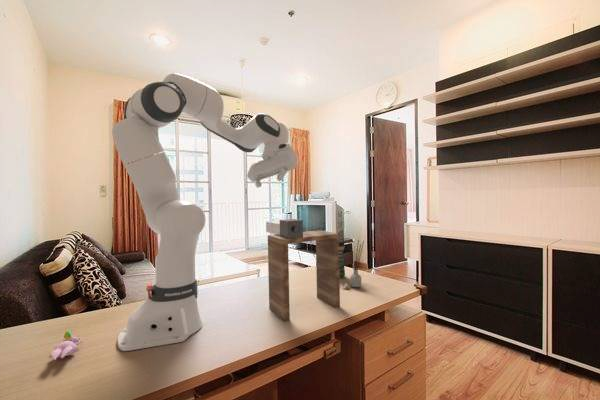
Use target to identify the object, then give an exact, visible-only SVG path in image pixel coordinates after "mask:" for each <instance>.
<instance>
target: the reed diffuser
mask: <svg viewBox="0 0 600 400" xmlns="http://www.w3.org/2000/svg"><path fill="white" fill-rule="evenodd" d="M359 241H360V240H359V239H358V240H357V244H359ZM364 242H365V241H364V240H363V241H362V243H360V245H359V246H356V247H357V248H356V253H357V254H356V256H355V258H356V259H355V262H356V263H355V267H354V261H353V256H352V251H351V248H350V247H351V246H350V242H347V243H348V247H349V249H348V250H349V253H350V257H351V258H350V259H351V262H352V263H351V264H352V268H353V273H352V274H350V277H349V278H350V281H349V283H350V285H348V283H347V282H346V283H344V286H343V288H344V289H350V286H351V287H354V288H360V287H362V276H361V274H359V269H358V268H359V264H360V260H361V256H362V252H363V247H364V246H363V245H364Z"/></svg>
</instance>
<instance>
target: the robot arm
mask: <svg viewBox="0 0 600 400" xmlns="http://www.w3.org/2000/svg"><path fill="white" fill-rule="evenodd" d="M224 109H225V107H224V100H223V97H222V95H221V94H220V93H219V92H218V90H217V89H215V88H214V87H212V86H210V85H208V84H205V83H204V82H201V81H199V80H198V79H196V78H195V79H194V78H193V77H190V76H187V75H183V74H180V73H177V72H172V73H169V74H167V75H166V76H165V77H164V78H163V79H162V81H156V82H151V83H149V84H146V85H145V86H144V87H143V88H141V89H140V88H139V89H138V90H137V91H135V93H133V94H132V95H131V97H129V98H128V99H127V101H126V102H125V104H124V110H123V111H124V114H123V119H121V120H119V121H118V122H117V123H115V124H114V126H113V127H112V131H111V134H112V139H113V142H114V144H115V148H116V150H117V153H118V155H119V158H120V161H121V163H122V165H123V166H124V168H125V170H126V172H127V174H128V176H129V179H130V180H131V182H132V184H133V186H134V188H135V190H136V192H137V195H138V197H139V202H140V204H141V209H142V211H143V213H144V216H145V222H146V224H147V226H148V227H149V228H150V230H152V231H153V232H154V233H155V234H158V235H160V238H159V239H160V241H159V245H158V251H157V254H156V256H155V260H154V266H155V284H154V285H153V283H150V284H147V286H146V287H145V289H146V292H147V297H148V299H146V301H144V302H143V303H142V304H141V305H139V307H137V308H136V309H135V310H133V311H132V312H131V314H130V316H129V318H128V321H127V323H126V327H125V328H124V329H123V330H122V331H121V332H120V333H119V335H118V337H117V347H118V349H119V350H121V351H123V352H128V351H134V350H140V349H141V350H142V349H147V348H153V347H154V348H155V347H159V346H165V345H170V344H177V343H181V342H185V341H186V340H187V339H188V338H189V337H190V336H191V335H193V334H195V333H196V332H199V330H200V329H201V328H202V326H203V321H202V318H201V315H200V311H199V307H198V300H197V299H198V296H199V295H198V293H199V291H198V290H199V289H198V281H197V278H196V251H197V245H198V241H199V237H200V235H201V232H202V231H203V229H204V228H205V226H206V215H205V213H204V211H203V209H202V208H201V207H200V206H198V205H197V204H195V203H193V202H190V201H187V200H181V199H180V197H179V194H178V189H177V184H176V182H177V180H176V179H177V177H176V174H175V171H174V169H173V167H172V165H171V163H170V160H169V158H168V157H167V154H166V152H165V149H164V147H163V146H162V144H161V142H160V138H159V129H160V128H163V127H165V126H168V125H169V124H171V123H172V122H174V121H176V120H177V119H179V117H180V116H181V114H182V113H185V114H187V115H189V116H191V117H192V118H193V117H194V118H196V119H198V121H200V124H201V125H202V127H204V129H206V130H207V131H209V132H210V133H212V134H214V135H215V136H218V137H219V138H221V139H223V140H225V141H227V142H229V143H230V144H232V145H233V146H235V147H236V148H237V149H239V150H241V152H245V153H252V152H254V151H255V150H256V149H257V148H258V147H259V146H260V145H262V144H263V145H264V148H263V150H262V151H263V152H262V156H261V159H260V160H257V161H255V162H253V163H252V164H251V166H250V167H249V169H248V171H247V174H246V175H247V178H248V180H250V182H252V183H255V184H254V185H255V187H256V188H260V187H261V188H262V182H261V180H264V179H268V178H271V177H274V176H276V180H277V181H279V182H281V181H284V177H285V175H286V174H287V173H288V172H290V171H293V170H295V169H296V168H297V166H298V157H297V156H298V154H297V152H296V151H295V149H294V148H293V146H292V145H291V144H289V130H288V128H287V126H286V125H285V123H282V122H280V121H279V122H278V121H276V120H275V119H274V118H273V117H272V116H271V115H269V114H266V113H263V112H262V113H261V112H260V113H259V112H258V113H257V114H255V115H254V116H253V117H251V119H249V120H248V122H246V123H245V124H244V125H243V126H241V127H238V128H236V127H234V126H232V125H230V124H229V123H227V122H226V121H224V120H222V118H223V114H224Z"/></svg>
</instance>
